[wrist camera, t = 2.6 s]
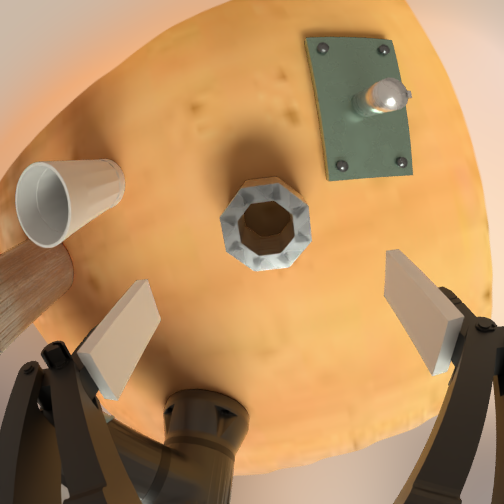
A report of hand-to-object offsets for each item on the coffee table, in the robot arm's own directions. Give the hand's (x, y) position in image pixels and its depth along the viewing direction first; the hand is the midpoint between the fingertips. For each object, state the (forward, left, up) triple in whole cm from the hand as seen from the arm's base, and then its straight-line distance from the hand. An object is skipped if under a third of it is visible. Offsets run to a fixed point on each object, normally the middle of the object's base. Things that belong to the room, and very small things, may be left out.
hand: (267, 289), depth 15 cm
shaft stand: (+12, +11, -18) cm, 24 cm away
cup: (-19, +7, -18) cm, 27 cm away
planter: (-33, -2, -18) cm, 38 cm away
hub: (0, 0, -18) cm, 18 cm away
